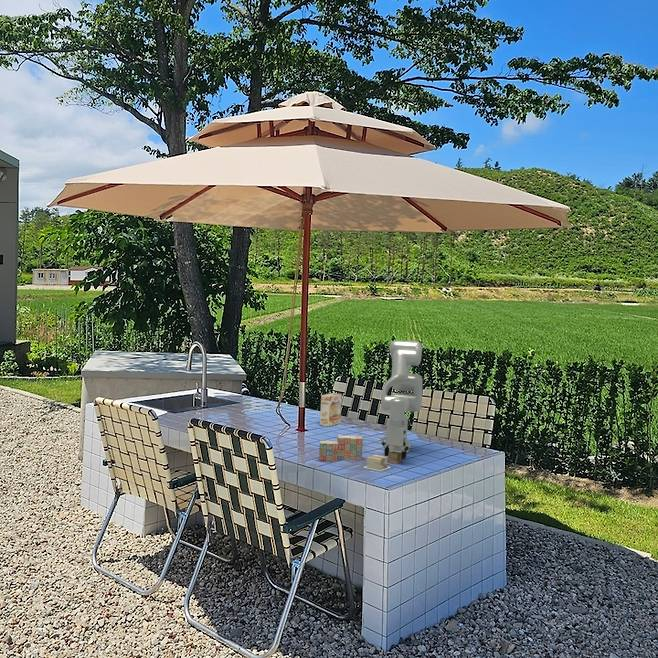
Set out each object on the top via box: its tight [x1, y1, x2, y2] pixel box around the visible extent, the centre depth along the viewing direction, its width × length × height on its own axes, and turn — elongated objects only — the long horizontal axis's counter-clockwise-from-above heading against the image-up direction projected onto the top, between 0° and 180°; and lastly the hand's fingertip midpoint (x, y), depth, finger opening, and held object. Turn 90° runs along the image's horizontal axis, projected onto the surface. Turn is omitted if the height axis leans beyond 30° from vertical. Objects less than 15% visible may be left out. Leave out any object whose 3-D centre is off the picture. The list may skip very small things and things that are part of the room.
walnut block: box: [387, 451, 403, 465], centre depth 344 cm, size 5×5×6 cm
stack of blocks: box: [318, 434, 364, 462], centre depth 349 cm, size 21×6×12 cm, turn 93°
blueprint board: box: [356, 463, 398, 474], centre depth 333 cm, size 14×14×1 cm
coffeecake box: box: [319, 392, 343, 427], centre depth 440 cm, size 15×7×20 cm, turn 148°
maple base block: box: [366, 454, 388, 470], centre depth 333 cm, size 7×7×5 cm
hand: (395, 457), depth 343 cm, fingers open, 9 cm apart
